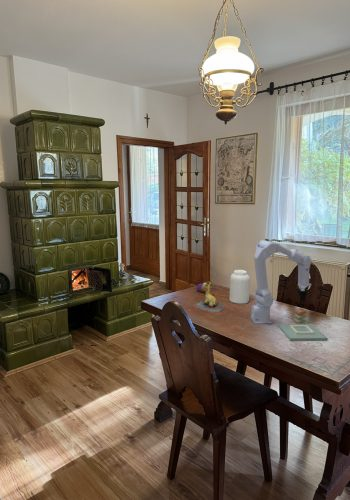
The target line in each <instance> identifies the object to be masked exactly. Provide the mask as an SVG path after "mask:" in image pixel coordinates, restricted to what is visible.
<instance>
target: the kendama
mask: <svg viewBox="0 0 350 500" xmlns="http://www.w3.org/2000/svg"><path fill="white" fill-rule="evenodd" d="M203 284H204V283H198V284H197V285H196V290H197V291H198V292H199V293H206V291H207V289H204V290H203V289H202V285H203ZM210 294H211V295H212V296H214V297H215V296H216V294H215V293H213V292H211V291H210ZM215 298H216V297H215Z"/></svg>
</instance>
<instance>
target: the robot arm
mask: <svg viewBox="0 0 350 500" xmlns="http://www.w3.org/2000/svg"><path fill="white" fill-rule="evenodd" d="M255 247H256V248H255V253H254V257H253V260H254V268H255V277H256V287H257V288H256V289H255V290H254V301H255V304H254V305H251V316H250V319H251V321H252V322H253V323H254V324H256V325H257V324H260V325H261V324H265V325H266V324H273V322H272V321H271V319H270V315H271V314H270V313H271V307H272V306H273V303H274V298H273V296H272V293H271V290H270V289H269V285H268V276H267V266H266V265H267V264H266V261H267V259H268V258H270V257H272V256H273V255H275V253H281V254H283V255H286V256H287V257H286V258H287V259H288V260H290V261H293V262H295V263H296V264H298V265H297V271H298V273H297V278H298V279H297V286H298V287H299V288H297V293H298V295H299V298H300V299H299V300H300V302H301V303H305V302H306V298H307V294H308V293H309V290H308V289H309V288H310V286H312V283H310V268H311V265H312V263H313V261H312V258H311V257H310V255H306V254H305V253H304V252H300V251H298V249H296V248H294V249H293V248H292V249H289V248H287V247H286V246H285V247H284V246H283V245H282V244H279V243H275V242H274V241H268V240H265V239H261V240H260V241H258V243H257V244H256V246H255Z"/></svg>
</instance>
